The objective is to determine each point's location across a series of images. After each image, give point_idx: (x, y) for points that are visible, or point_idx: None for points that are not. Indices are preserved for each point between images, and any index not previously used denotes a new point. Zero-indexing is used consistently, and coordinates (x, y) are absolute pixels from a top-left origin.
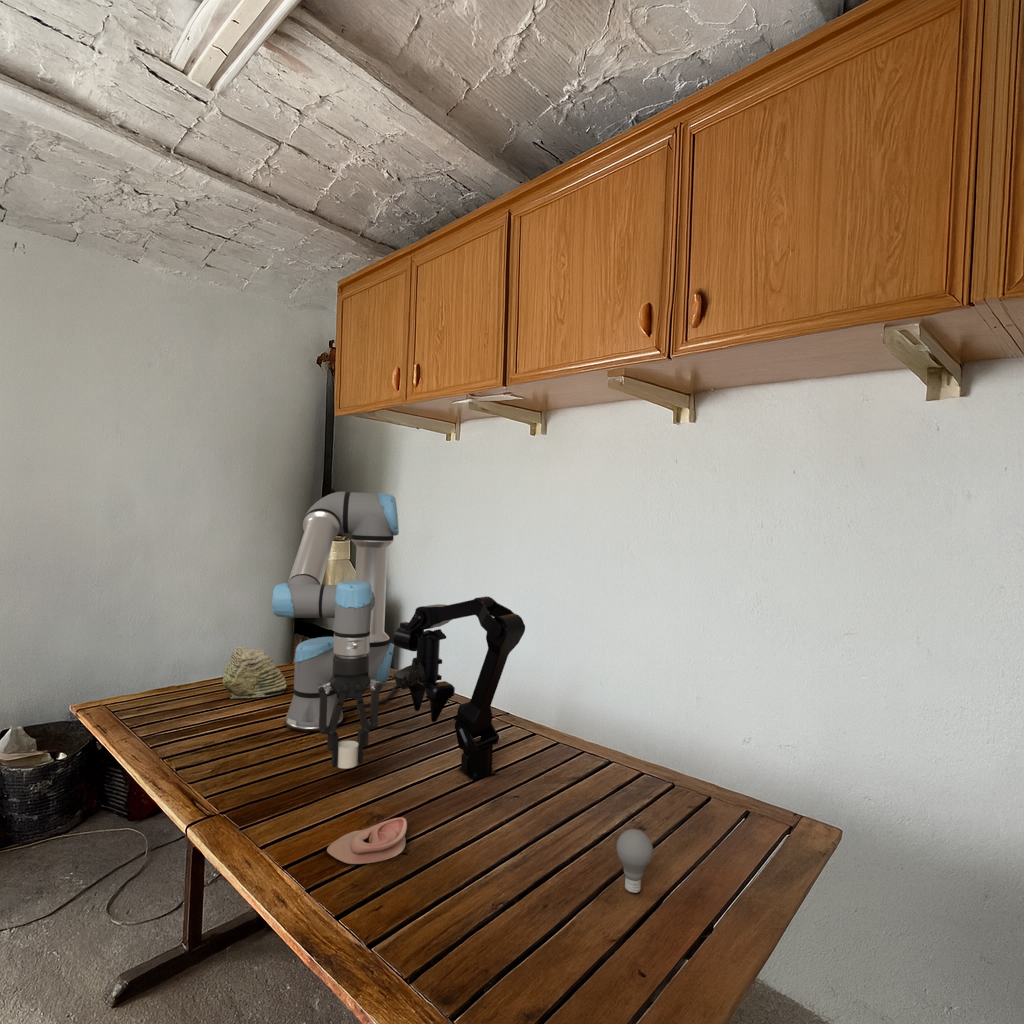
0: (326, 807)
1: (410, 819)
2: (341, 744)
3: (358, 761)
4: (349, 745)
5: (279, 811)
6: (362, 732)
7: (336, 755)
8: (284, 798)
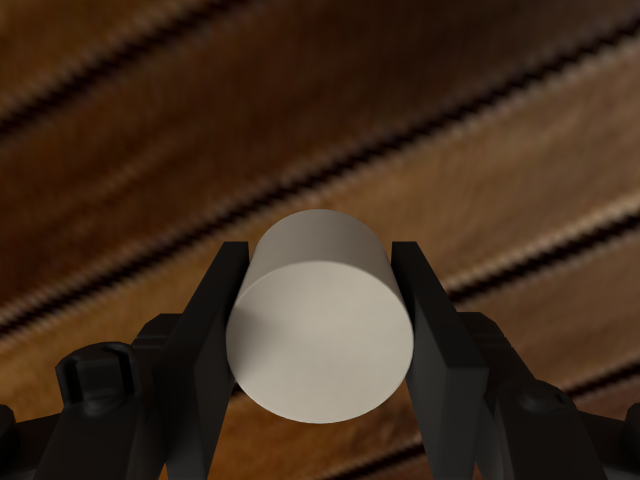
0: None
1: None
2: (267, 334)
3: None
4: (331, 368)
5: (44, 284)
6: (469, 456)
7: None
8: (48, 177)
